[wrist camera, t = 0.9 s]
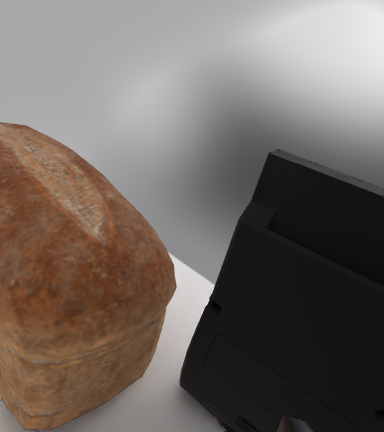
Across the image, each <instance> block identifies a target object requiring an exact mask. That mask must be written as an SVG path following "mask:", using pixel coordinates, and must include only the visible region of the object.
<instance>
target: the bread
mask: <svg viewBox="0 0 384 432" xmlns="http://www.w3.org/2000/svg"><path fill="white" fill-rule="evenodd" d="M176 287H177V286H176V281H175V274H174V264H173V262H172V260H171V258H170V256H169V254H168V252H167V250H166V248H165V246H164V245H163V243H162V241H161V240H160V238H159V237H158V235H157V234H156V232H155V230H154V229H153V228H152V227H151V225H150V224H149V223H148V222H147V221H146V220H145V218H144V217H143V216H142V215H141V214H140V213H139V212H138V211H137V210H136V209H135V208H134V207H133V206H132V205H131V204H130V203H129V201H127V200H126V198H125V197H124V196H123V195H121V193H120V192H118V191H117V189H115V187H114V186H113V185H112V184H111V183H110V182H109V181H108V180H107V179H106V178H105V176H104V175H103V174H101V173H100V172H99V171H98V170H97V169H95V168H94V167H93V166H92V165H90V164H89V163H88V162H87V161H85V160H84V159H83V158H81V157H80V156H79V155H78V154H77V153H75V152H74V151H73V150H71V149H70V148H68V147H67V146H65V145H63V144H62V143H60V142H58V141H56V140H54V139H52V138H51V137H48V136H47V135H44V134H42V133H40V132H38V131H36V130H34V129H32V128H30V127H27V126H25V125H18V124H10V123H1V122H0V397H1V399H2V400H3V402H4V404H5V405H6V407H7V408H8V409H9V411H10V412H11V413H12V414H13V416H14V417H15V418H16V419H17V420H18V422H19V423H20V424H21V425H22V427H23V428H24V429H50V430H52V429H54V428H56V427H58V426H60V425H62V424H64V423H66V422H68V421H70V420H72V419H74V418H77V417H79V416H81V415H83V414H85V413H86V412H88V411H90V410H92V409H94V408H96V407H98V406H100V405H102V404H104V403H105V402H107V401H108V400H110V399H111V398H112V397H114V396H115V395H117V394H118V393H120V392H121V391H122V390H124V389H125V388H127V387H128V386H129V385H131V384H132V383H134V382H135V381H136V380H138V379H139V378H141V377H142V376H143V374H144V372H145V370H146V369H147V367H148V365H149V364H150V361H151V359H152V357H153V355H154V353H155V350H156V346H157V343H158V340H159V336H160V333H161V329H162V326H163V322H164V317H165V312H166V307H167V305H168V303H169V302H170V300H171V298H172V297H173V294H174V292H175V290H176Z"/></svg>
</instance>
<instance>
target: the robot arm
mask: <svg viewBox="0 0 384 432" xmlns="http://www.w3.org/2000/svg"><path fill="white" fill-rule="evenodd" d="M277 432H314V431H313V430H312V428H311V427H310V426H309V424H308V423H307V422H306V421H305V419H303V418H302V417H300V416H295V415H290V414H286V415H284V416H283V418H282V421H281V423H280V426H279V428H278V430H277Z"/></svg>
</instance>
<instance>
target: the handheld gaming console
mask: <svg viewBox="0 0 384 432" xmlns="http://www.w3.org/2000/svg"><path fill="white" fill-rule="evenodd" d="M180 386H181V387H182V388H183V389H185V390H186V391H187V392H188V393H190V394H191V395H192V396H193V397H195V398H196V399H197V400H198V401H199V402H200V403H201V404H202V405H203V406H204V407H205V408H206V409H207V410H208V411H209V412H210V413H212V414H213V415H214V416H216V418H217V419H218V420H219V421H220V423H221V424H222V425H223V427H224V428H225V429H226V430H227V432H277V430H278V428H279V426H280V423H281V421H282V418H283V416H284V415H286V414H290V415H295V416H300V417H302V418H303V419H305V421H306V422H307V423H308V424H309V426H310V427H311V428H312V430H313V431H314V432H384V189H383V188H381V187H378V186H375V185H373V184H370V183H367V182H365V181H362V180H360V179H357V178H354V177H352V176H349V175H346V174H344V173H341V172H338V171H336V170H333V169H330V168H328V167H325V166H322V165H320V164H317V163H315V162H312V161H309V160H306V159H304V158H301V157H298V156H296V155H293V154H290V153H287V152H285V151H282V150H279V149H278V150H275V151H272V152H269V154H268V156H267V159H266V162H265V165H264V167H263V170H262V173H261V175H260V178H259V181H258V183H257V186H256V189H255V192H254V194H253V197H252V200H251V202H250V203H249V205H248V206H247V208H246V209H245V211H244V212H243V214H242V215H241V217H240V218H239V220H238V223H237V226H236V228H235V231H234V234H233V237H232V239H231V242H230V245H229V248H228V251H227V253H226V256H225V259H224V262H223V265H222V267H221V270H220V273H219V276H218V279H217V282H216V284H215V287H214V290H213V293H212V294H211V296H210V300H209V303H208V305H207V306H206V307H205V309H204V311H203V314H202V316H201V318H200V321H199V323H198V325H197V327H196V330H195V332H194V335H193V337H192V340H191V342H190V345H189V347H188V350H187V353H186V357H185V360H184V363H183V367H182V370H181V376H180Z"/></svg>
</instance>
